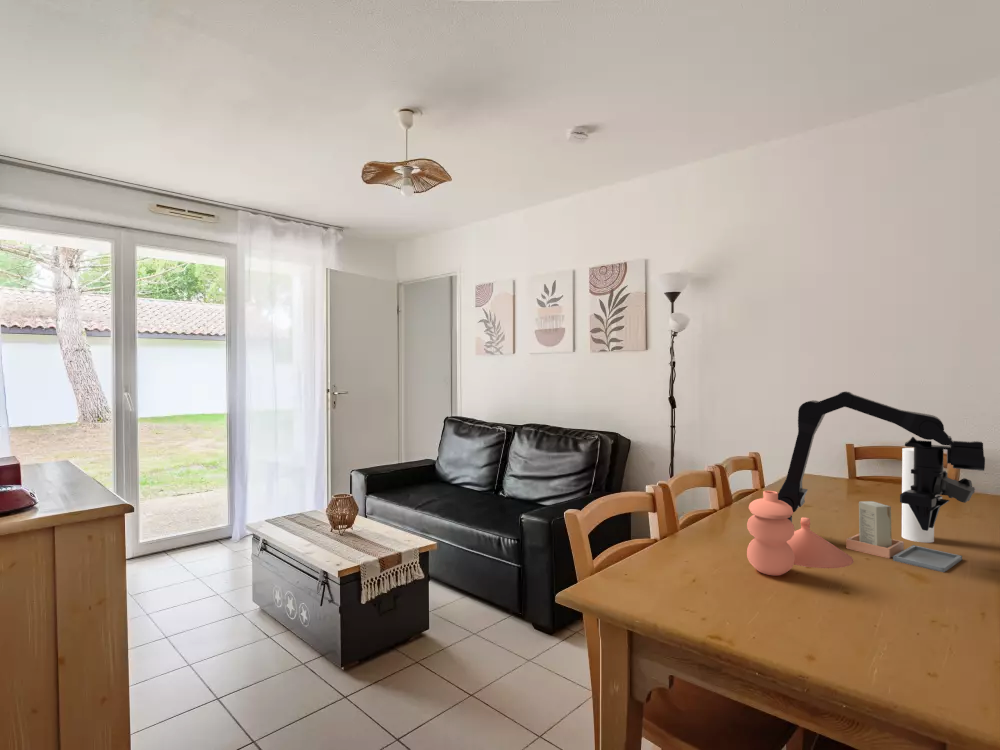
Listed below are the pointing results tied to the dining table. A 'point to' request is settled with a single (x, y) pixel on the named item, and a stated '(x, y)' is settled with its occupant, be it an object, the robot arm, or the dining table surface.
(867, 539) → the skincare box
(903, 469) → the cylindrical container
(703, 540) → the dining table surface
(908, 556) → the tray
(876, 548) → the holder
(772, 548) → the ceramic vessels
